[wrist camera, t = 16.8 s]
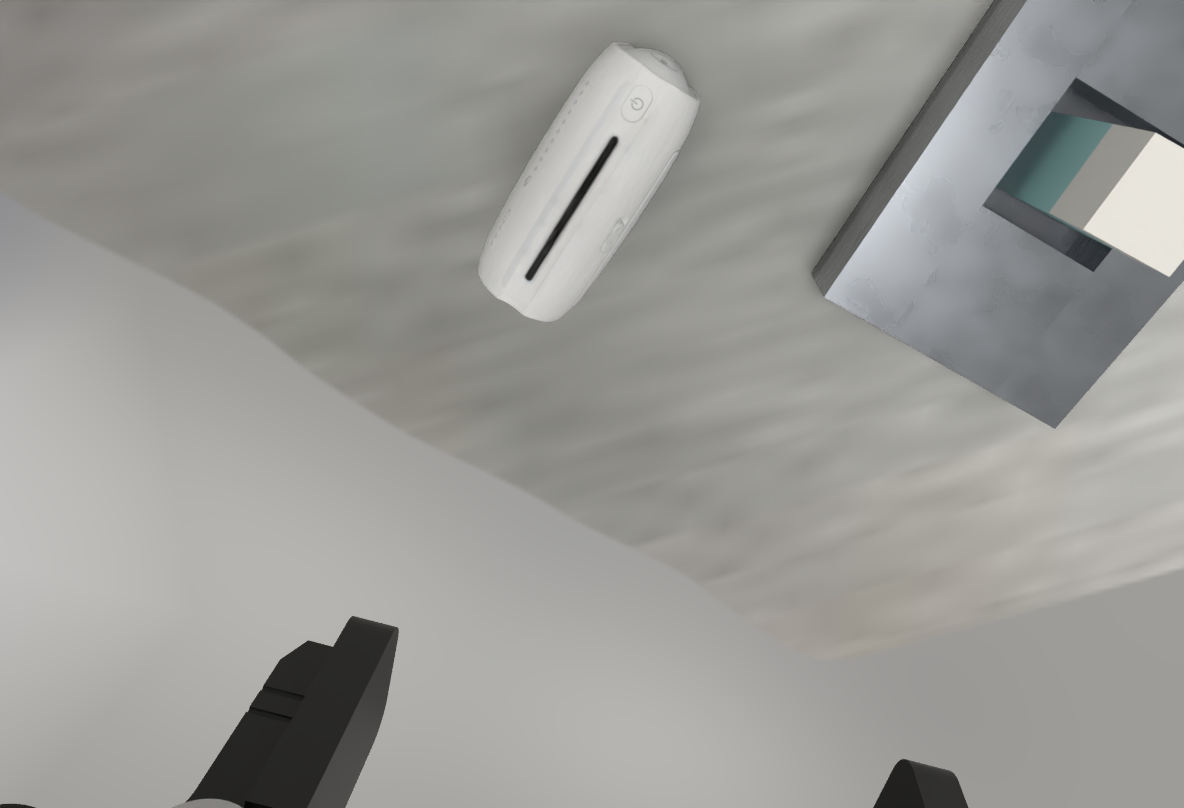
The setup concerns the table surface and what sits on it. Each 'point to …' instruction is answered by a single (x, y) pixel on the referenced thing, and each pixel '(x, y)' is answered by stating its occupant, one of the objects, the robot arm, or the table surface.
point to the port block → (1013, 205)
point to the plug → (1106, 186)
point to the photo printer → (588, 181)
